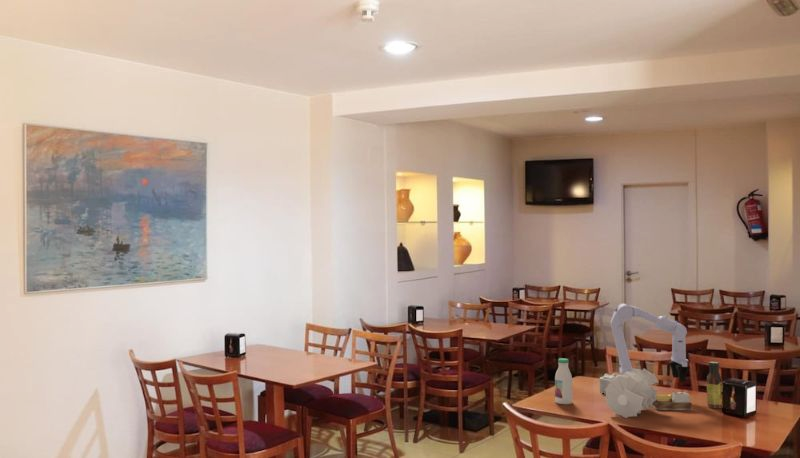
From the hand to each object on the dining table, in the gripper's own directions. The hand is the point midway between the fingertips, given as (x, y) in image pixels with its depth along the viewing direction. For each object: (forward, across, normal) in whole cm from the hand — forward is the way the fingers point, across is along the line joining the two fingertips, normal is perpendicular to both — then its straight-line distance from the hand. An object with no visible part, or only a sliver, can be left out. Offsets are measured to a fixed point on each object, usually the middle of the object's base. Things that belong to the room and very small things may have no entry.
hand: (679, 379), depth 298 cm
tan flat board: (+10, -13, +8) cm, 18 cm away
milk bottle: (+10, -4, +54) cm, 55 cm away
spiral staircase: (+10, -20, +28) cm, 36 cm away
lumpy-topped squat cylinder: (+10, +15, +25) cm, 31 cm away
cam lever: (+7, -13, +12) cm, 19 cm away
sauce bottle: (+10, -11, -12) cm, 19 cm away
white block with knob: (+7, -13, +4) cm, 15 cm away
